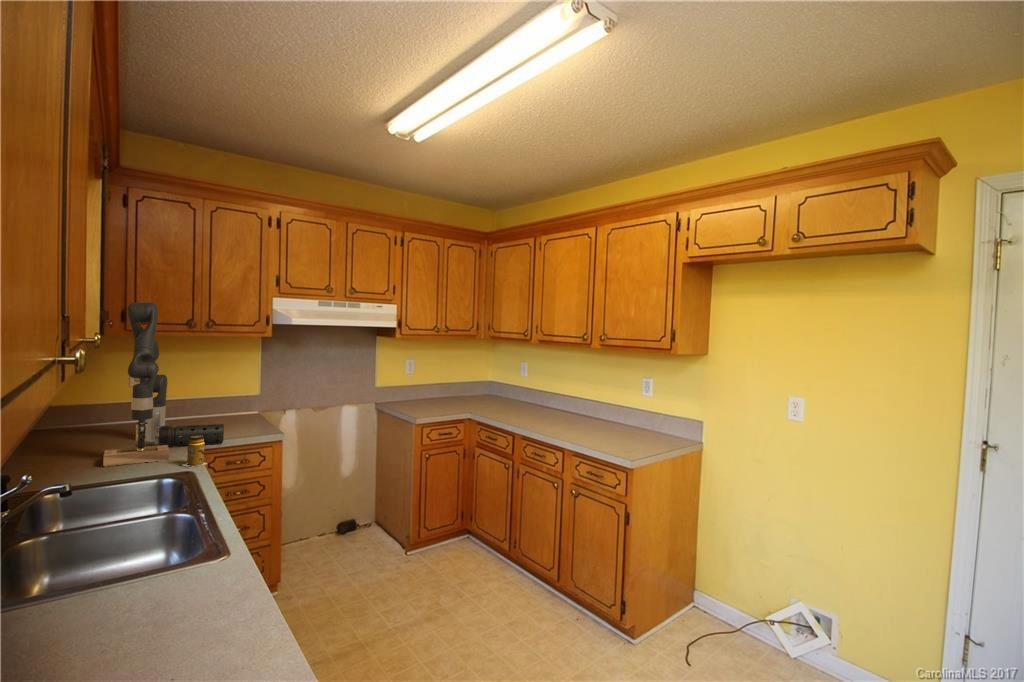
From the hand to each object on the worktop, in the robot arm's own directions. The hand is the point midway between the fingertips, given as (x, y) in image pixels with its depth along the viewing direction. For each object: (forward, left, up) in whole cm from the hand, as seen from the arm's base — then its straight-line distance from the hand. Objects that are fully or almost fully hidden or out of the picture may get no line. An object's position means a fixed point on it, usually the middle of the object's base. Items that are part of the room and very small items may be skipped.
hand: (140, 447), depth 212 cm
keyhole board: (0, -1, -6) cm, 6 cm away
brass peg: (0, 0, -5) cm, 5 cm away
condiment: (+17, +18, -6) cm, 25 cm away
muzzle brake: (-21, +20, -6) cm, 30 cm away
